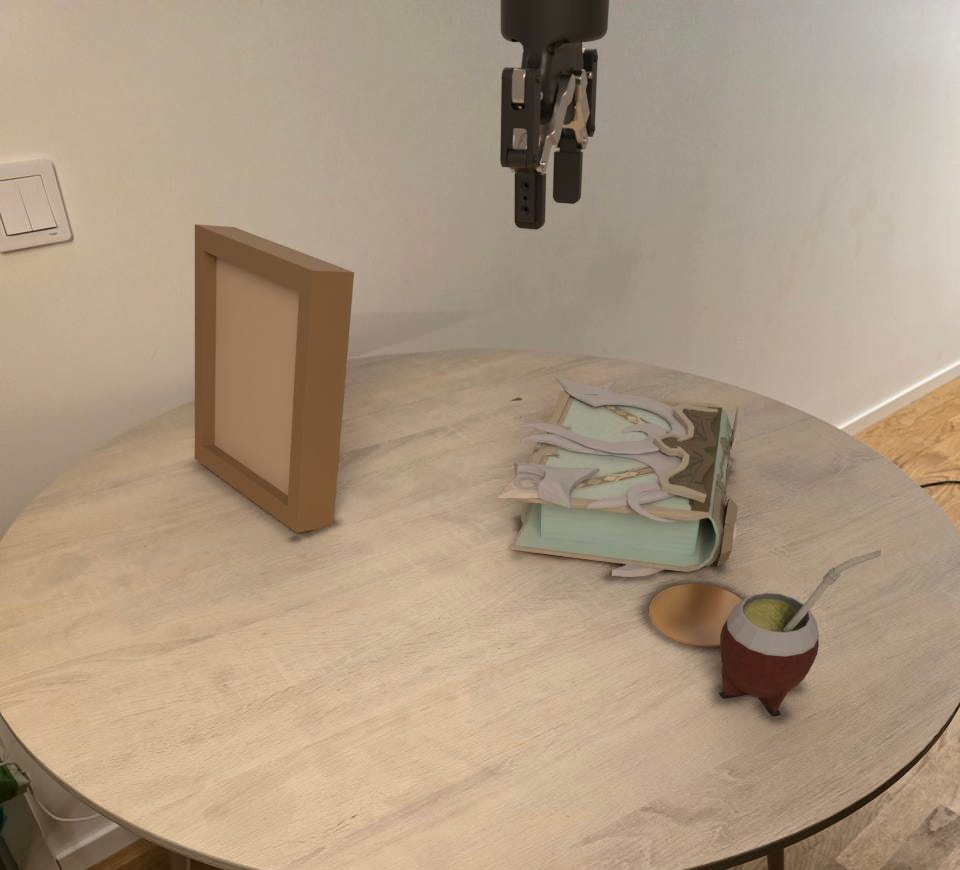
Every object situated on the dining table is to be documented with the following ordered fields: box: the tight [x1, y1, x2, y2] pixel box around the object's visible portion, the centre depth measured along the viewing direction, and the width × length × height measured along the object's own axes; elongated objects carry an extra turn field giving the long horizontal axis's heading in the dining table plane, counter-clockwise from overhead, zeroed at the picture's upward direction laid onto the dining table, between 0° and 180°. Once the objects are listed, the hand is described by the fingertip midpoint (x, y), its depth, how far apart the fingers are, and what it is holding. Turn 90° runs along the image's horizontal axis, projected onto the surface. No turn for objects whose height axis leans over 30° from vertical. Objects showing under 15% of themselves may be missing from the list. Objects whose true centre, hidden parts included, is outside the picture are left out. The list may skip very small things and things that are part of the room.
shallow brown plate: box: [648, 583, 743, 648], centre depth 78 cm, size 9×9×1 cm
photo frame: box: [194, 223, 355, 534], centre depth 92 cm, size 15×22×25 cm
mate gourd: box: [718, 549, 882, 718], centre depth 66 cm, size 8×8×15 cm
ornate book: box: [496, 374, 739, 578], centre depth 91 cm, size 23×10×30 cm
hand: (549, 214), depth 70 cm, fingers open, 8 cm apart
